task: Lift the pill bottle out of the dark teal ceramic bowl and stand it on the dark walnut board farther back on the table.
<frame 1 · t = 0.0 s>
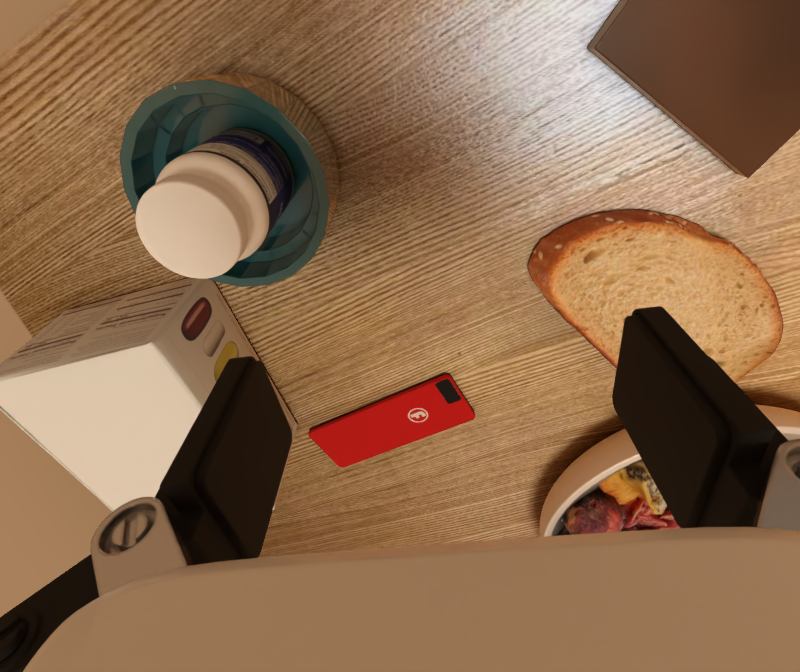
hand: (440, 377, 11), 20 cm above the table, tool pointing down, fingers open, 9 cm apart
bowl 2: (673, 489, 47), on the table
teal bowl: (253, 172, 28), on the table
electronic device: (390, 420, 41), on the table
supplement box: (194, 370, 38), on the table
bread slice: (648, 310, 34), on the table
pill bottle: (252, 173, 28), resting on teal bowl
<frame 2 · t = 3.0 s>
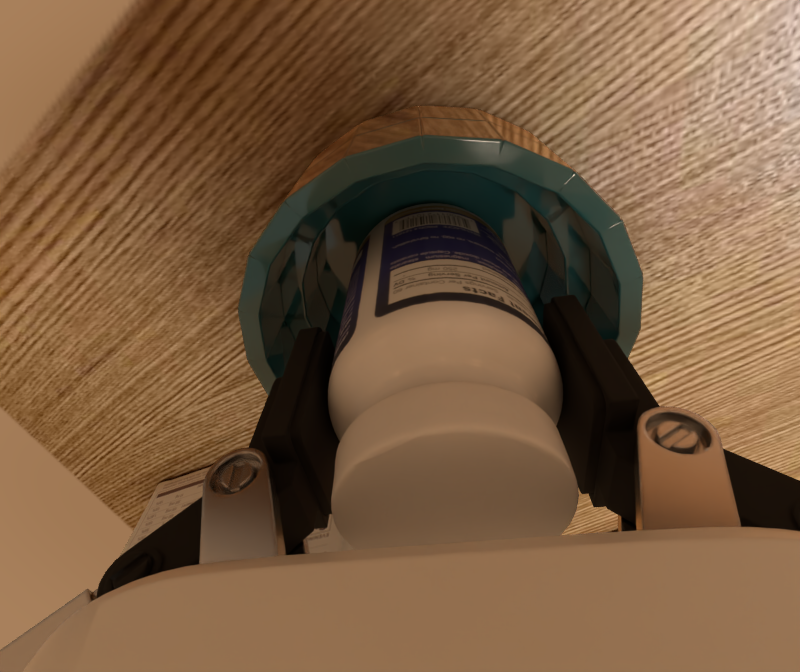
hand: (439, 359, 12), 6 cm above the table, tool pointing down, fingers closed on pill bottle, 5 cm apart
teal bowl: (430, 269, 17), on the table
supplement box: (333, 528, 27), on the table
pill bottle: (430, 271, 16), resting on teal bowl, touching gripper
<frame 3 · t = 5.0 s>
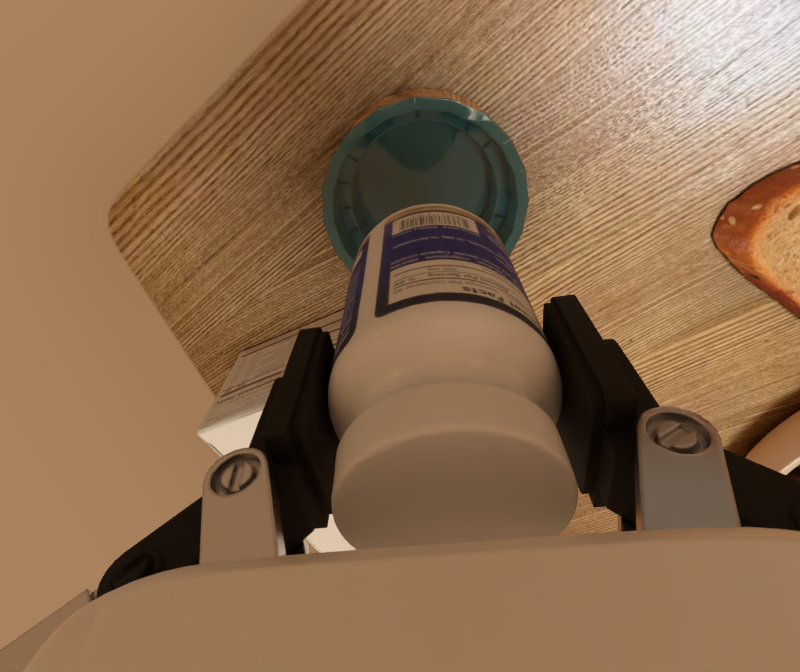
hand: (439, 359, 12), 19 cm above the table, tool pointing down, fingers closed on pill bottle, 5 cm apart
teal bowl: (422, 187, 28), on the table
supplement box: (358, 394, 39), on the table
pill bottle: (430, 271, 17), point 14 cm above the table, touching gripper
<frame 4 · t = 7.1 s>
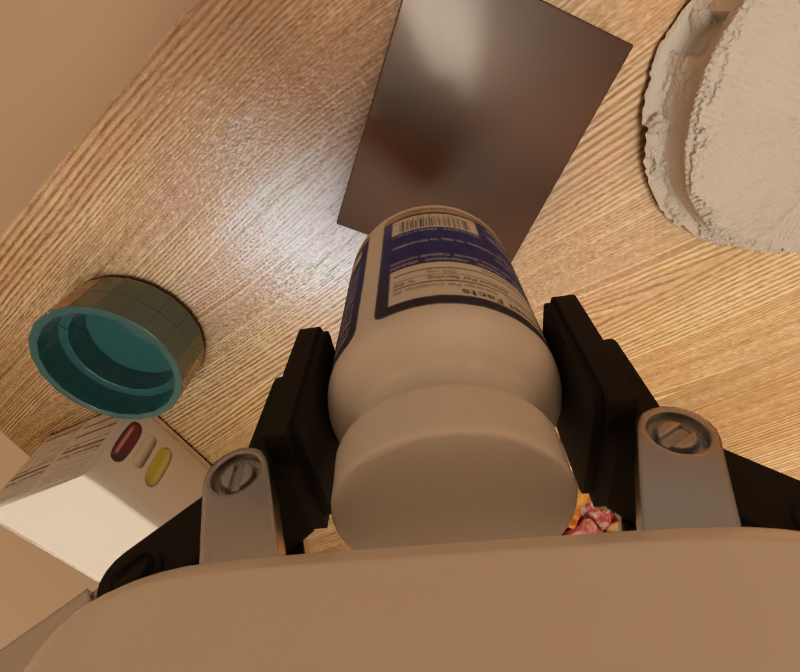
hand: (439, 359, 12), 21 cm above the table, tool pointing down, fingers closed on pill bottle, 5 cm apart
bowl 2: (581, 507, 52), on the table
teal bowl: (140, 332, 38), on the table
walnut board: (466, 140, 29), on the table
supplement box: (153, 464, 49), on the table
pill bottle: (430, 273, 17), point 16 cm above the table, touching gripper
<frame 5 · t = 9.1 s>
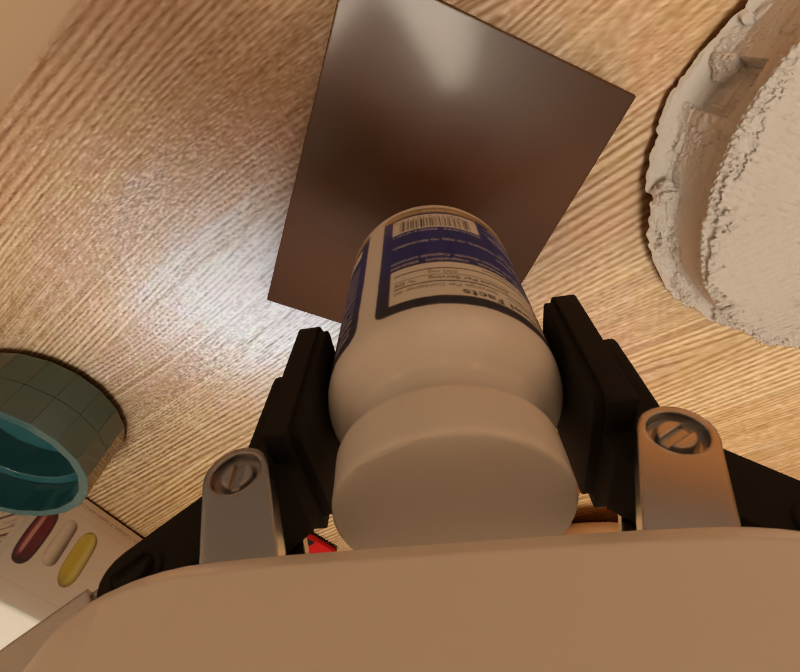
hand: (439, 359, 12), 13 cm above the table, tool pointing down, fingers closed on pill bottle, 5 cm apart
bowl 2: (570, 585, 46), on the table
teal bowl: (46, 409, 32), on the table
electronic device: (265, 559, 44), on the table
walnut board: (425, 204, 23), on the table
supplement box: (83, 540, 43), on the table
pill bottle: (430, 273, 17), point 8 cm above the table, touching gripper
when the fingers open (6 cm above the table, at t = 11.1 s): pill bottle stays where it is, resting on walnut board.
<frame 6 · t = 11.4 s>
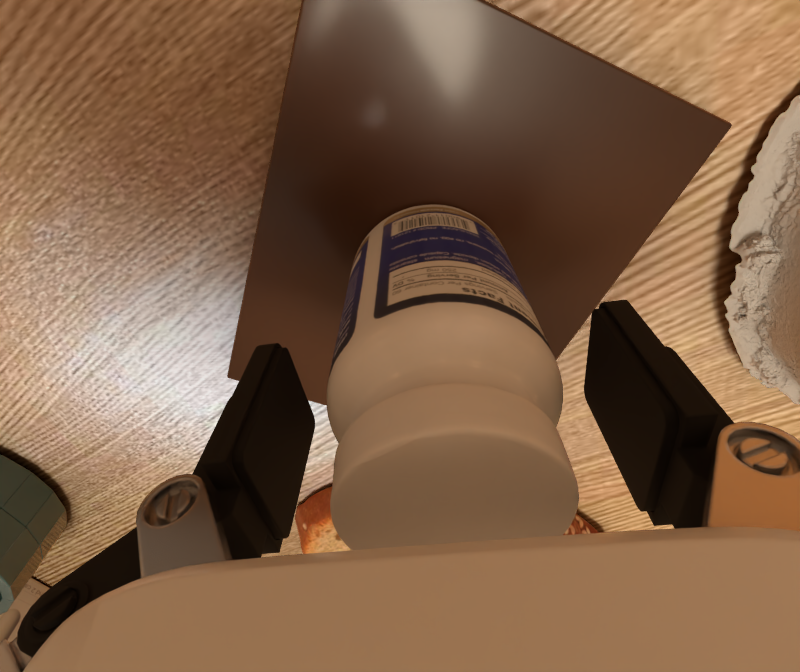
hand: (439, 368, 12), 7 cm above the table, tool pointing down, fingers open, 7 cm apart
walnut board: (430, 261, 17), on the table
supplement box: (36, 617, 37), on the table
bread slice: (462, 541, 29), on the table
pill bottle: (429, 272, 16), point 1 cm above the table, touching walnut board
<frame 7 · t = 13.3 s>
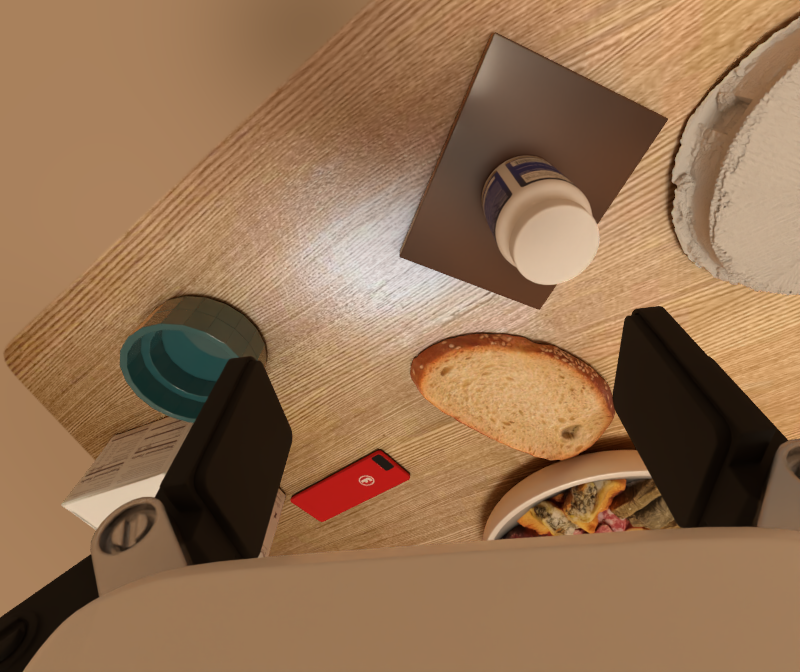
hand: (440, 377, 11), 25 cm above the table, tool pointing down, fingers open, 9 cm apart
bowl 2: (596, 514, 56), on the table
teal bowl: (209, 345, 42), on the table
electronic device: (349, 485, 54), on the table
walnut board: (517, 190, 33), on the table
supplement box: (205, 464, 53), on the table
bread slice: (513, 392, 45), on the table
pill bottle: (519, 193, 32), point 1 cm above the table, touching walnut board
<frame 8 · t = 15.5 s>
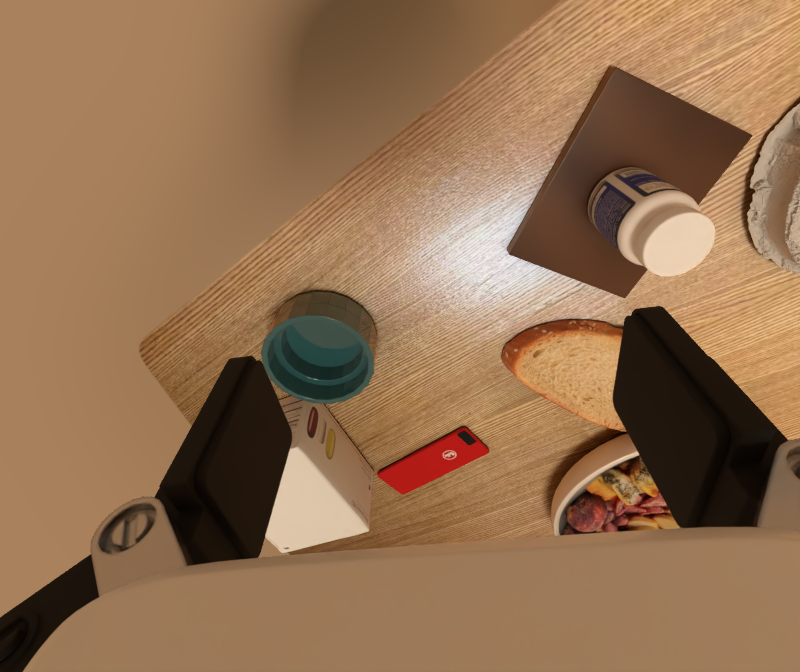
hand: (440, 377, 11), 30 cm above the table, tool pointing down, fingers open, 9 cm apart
bowl 2: (652, 482, 62), on the table
teal bowl: (325, 334, 48), on the table
electronic device: (431, 460, 60), on the table
walnut board: (615, 195, 39), on the table
supplement box: (304, 443, 58), on the table
bread slice: (590, 372, 50), on the table
pill bottle: (619, 199, 38), point 1 cm above the table, touching walnut board
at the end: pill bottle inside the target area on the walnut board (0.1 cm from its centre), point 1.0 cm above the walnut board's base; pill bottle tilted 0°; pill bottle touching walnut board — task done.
